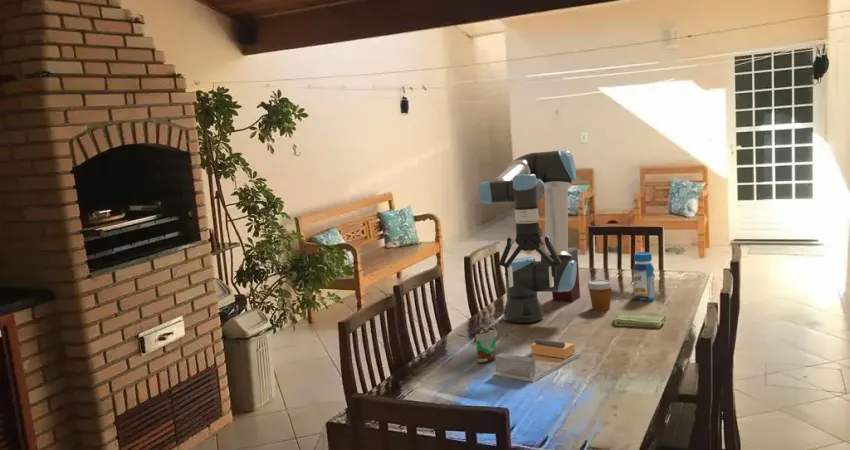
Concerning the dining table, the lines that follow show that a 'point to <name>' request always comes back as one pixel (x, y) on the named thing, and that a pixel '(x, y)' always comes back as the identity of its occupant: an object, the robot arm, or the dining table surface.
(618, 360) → the dining table surface
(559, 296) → the toy vending machine
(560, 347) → the block
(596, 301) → the disposable coffee cup
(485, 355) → the food container
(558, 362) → the vise
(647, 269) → the beverage bottle
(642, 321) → the washcloth
